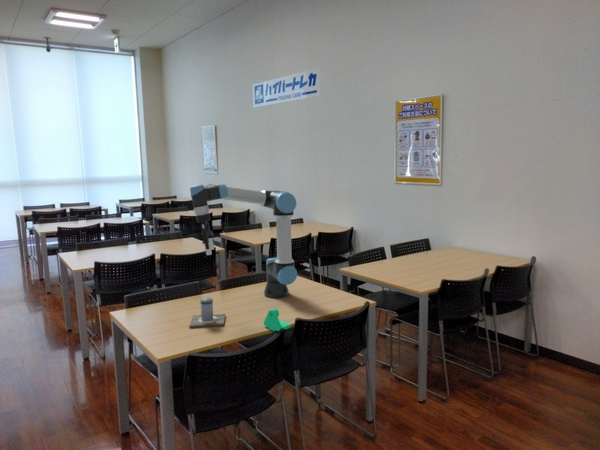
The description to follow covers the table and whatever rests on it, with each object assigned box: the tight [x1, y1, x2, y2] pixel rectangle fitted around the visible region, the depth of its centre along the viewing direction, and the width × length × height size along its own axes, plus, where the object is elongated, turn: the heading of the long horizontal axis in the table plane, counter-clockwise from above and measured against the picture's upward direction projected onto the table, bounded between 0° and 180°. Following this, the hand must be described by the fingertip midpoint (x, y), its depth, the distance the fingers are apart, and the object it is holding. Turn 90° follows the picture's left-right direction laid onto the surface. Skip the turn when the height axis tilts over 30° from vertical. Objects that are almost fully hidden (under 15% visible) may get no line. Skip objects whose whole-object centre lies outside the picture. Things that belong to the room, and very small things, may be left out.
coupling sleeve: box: [200, 296, 214, 322], centre depth 237 cm, size 6×6×11 cm
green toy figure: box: [263, 308, 291, 332], centre depth 228 cm, size 12×8×10 cm, turn 43°
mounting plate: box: [188, 313, 226, 329], centre depth 238 cm, size 15×17×1 cm
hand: (210, 252), depth 248 cm, fingers open, 13 cm apart
